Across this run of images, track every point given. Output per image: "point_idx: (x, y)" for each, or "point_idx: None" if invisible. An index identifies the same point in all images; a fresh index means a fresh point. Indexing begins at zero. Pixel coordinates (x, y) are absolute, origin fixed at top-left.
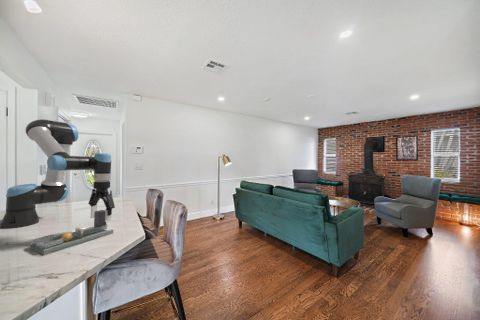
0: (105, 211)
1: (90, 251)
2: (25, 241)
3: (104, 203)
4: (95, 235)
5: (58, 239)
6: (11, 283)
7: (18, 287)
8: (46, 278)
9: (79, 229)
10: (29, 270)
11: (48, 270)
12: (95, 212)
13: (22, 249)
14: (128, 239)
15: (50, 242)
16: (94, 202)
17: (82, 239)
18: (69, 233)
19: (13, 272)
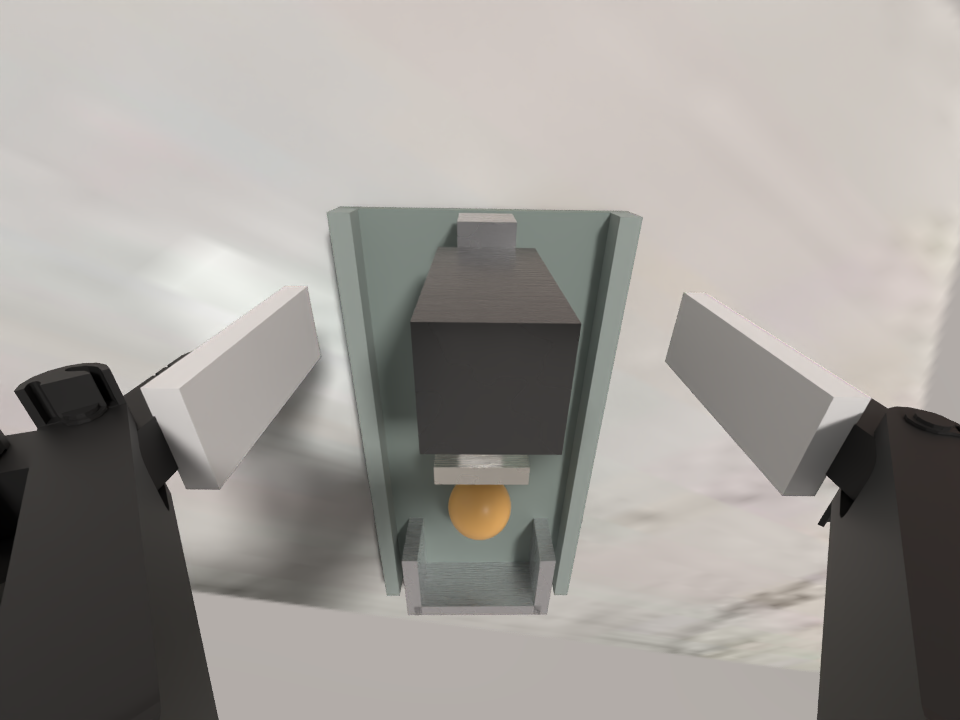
0: (757, 465)
1: (746, 466)
2: (251, 552)
3: (831, 638)
4: (607, 383)
5: (539, 573)
6: (689, 647)
7: (736, 645)
8: (774, 610)
9: (498, 481)
10: (652, 615)
11: (724, 594)
12: (449, 443)
13: (382, 582)
14: (894, 228)
15: (548, 599)
16: (176, 557)
17: (592, 460)
18: (494, 522)
19: (613, 633)
